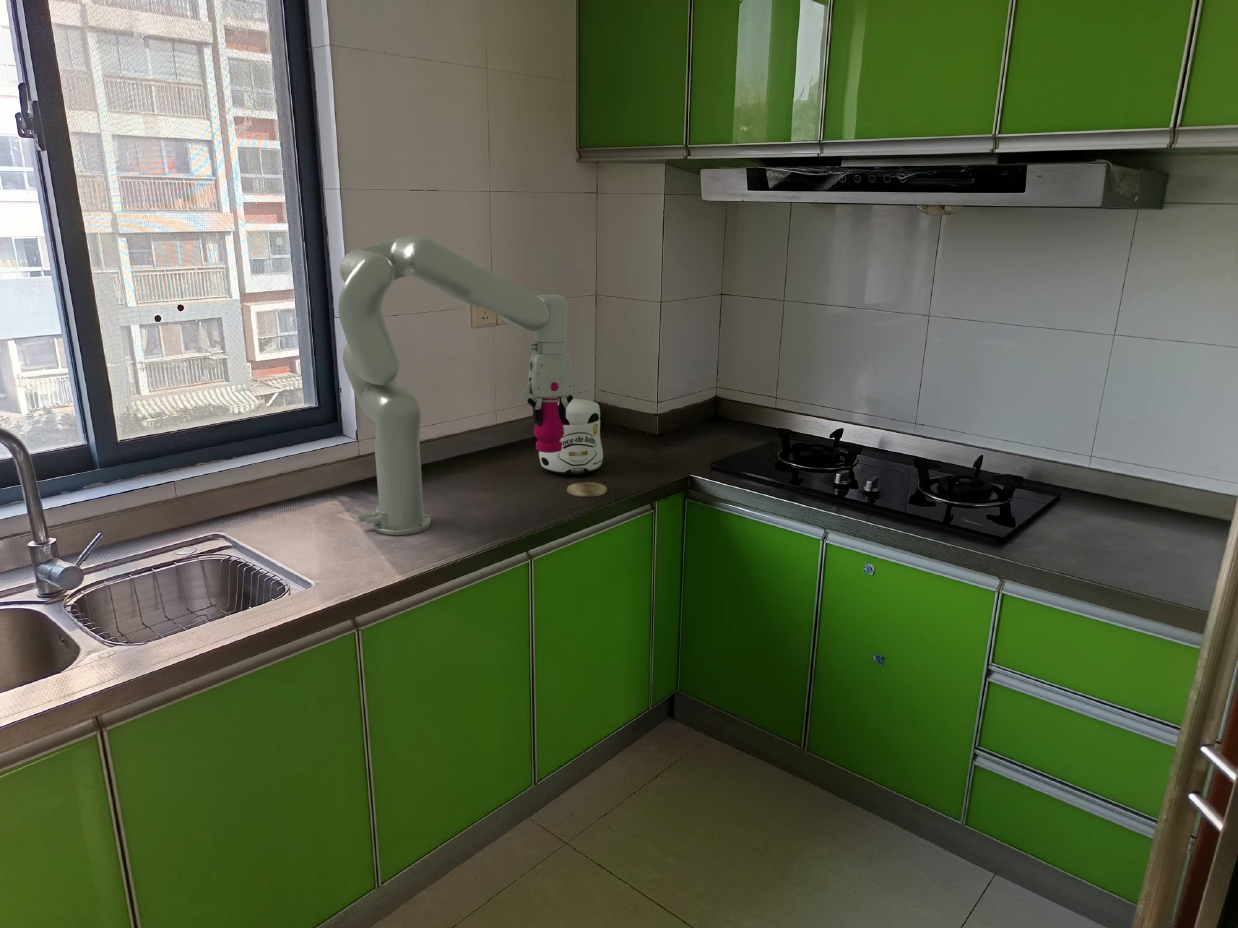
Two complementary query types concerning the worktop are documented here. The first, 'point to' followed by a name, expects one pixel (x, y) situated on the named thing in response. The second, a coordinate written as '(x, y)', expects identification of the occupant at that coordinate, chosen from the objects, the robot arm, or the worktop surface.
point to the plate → (587, 489)
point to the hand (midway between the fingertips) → (549, 423)
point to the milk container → (577, 441)
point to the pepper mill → (549, 425)
